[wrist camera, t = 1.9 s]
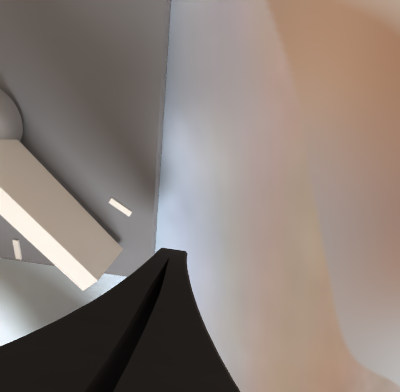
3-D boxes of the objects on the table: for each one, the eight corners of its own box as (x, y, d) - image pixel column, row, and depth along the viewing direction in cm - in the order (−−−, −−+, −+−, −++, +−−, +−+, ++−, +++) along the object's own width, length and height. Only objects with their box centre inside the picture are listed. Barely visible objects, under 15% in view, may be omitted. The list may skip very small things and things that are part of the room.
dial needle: (-57, 113, 11) (-186, 100, 8) (-21, 64, 10) (-149, 22, 7) (99, 266, 14) (58, 312, 10) (139, 237, 13) (110, 275, 9)
